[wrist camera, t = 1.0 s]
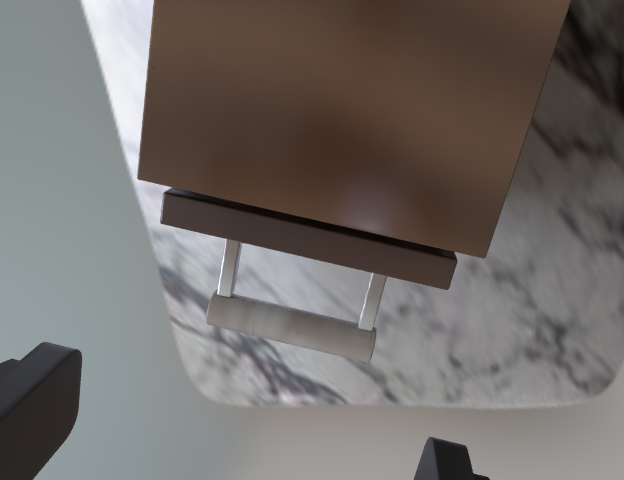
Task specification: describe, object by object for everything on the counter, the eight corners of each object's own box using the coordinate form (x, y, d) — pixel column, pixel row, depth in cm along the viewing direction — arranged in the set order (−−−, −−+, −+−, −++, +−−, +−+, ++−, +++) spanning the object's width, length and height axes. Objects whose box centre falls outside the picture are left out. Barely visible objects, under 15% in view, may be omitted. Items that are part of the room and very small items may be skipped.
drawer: (402, 321, 27) (411, 409, 20) (203, 274, 28) (145, 344, 21) (514, -64, 21) (579, -124, 15) (260, -115, 22) (206, -197, 15)
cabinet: (449, 193, 26) (485, 259, 17) (215, 141, 26) (136, 179, 18) (546, -135, 21) (660, -267, 13) (262, -190, 22) (186, -354, 13)
